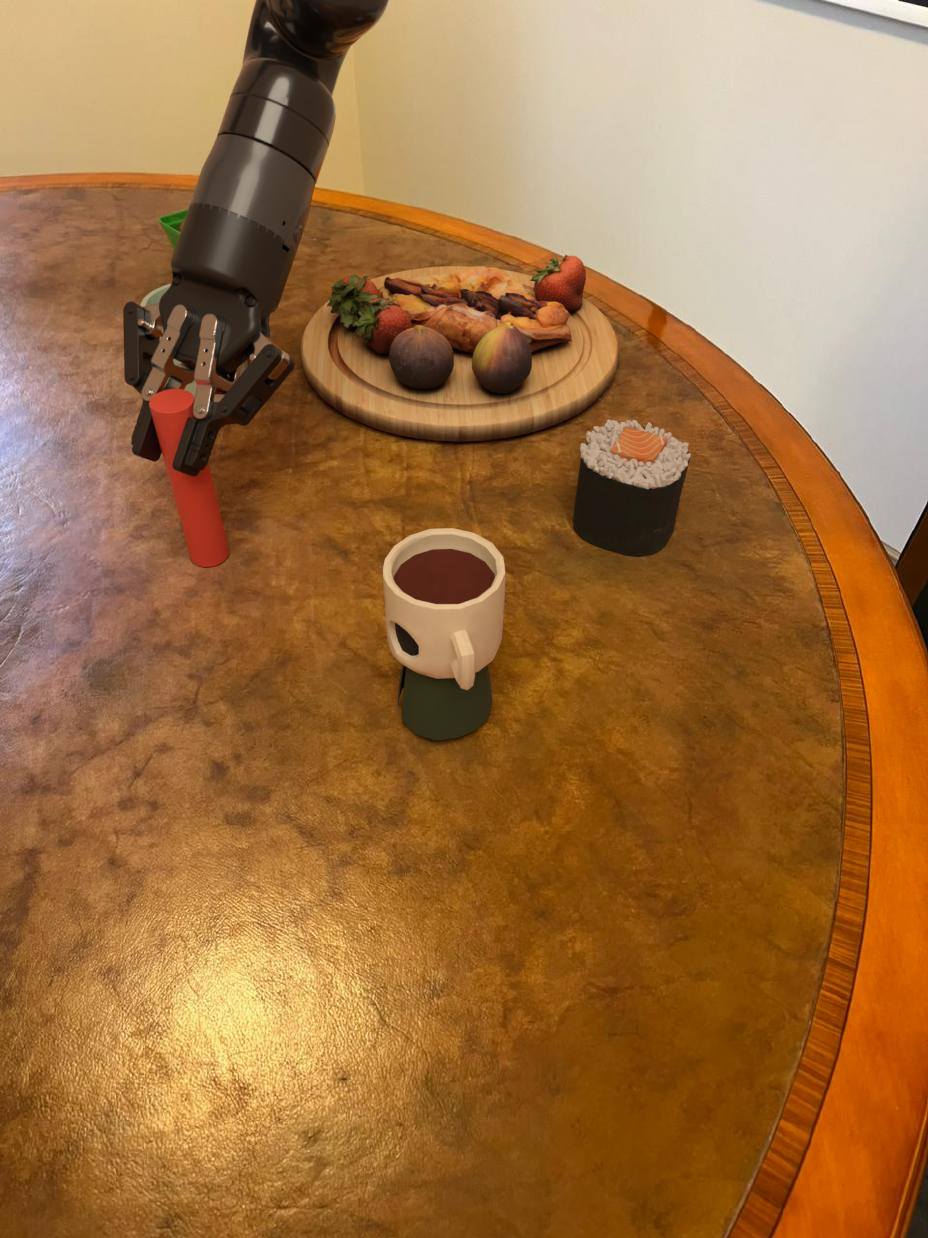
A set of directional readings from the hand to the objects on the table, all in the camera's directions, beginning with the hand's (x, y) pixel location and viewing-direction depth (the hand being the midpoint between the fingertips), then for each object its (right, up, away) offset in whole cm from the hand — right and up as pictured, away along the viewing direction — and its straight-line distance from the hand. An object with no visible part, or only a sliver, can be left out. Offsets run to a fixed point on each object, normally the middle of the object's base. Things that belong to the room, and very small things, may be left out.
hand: (164, 464), depth 65 cm
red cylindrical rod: (+1, -6, +8) cm, 10 cm away
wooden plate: (+20, +16, +30) cm, 40 cm away
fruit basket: (-7, +31, +45) cm, 55 cm away
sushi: (+34, -3, +12) cm, 36 cm away
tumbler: (-5, +13, +27) cm, 30 cm away
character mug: (+20, -17, -2) cm, 26 cm away
